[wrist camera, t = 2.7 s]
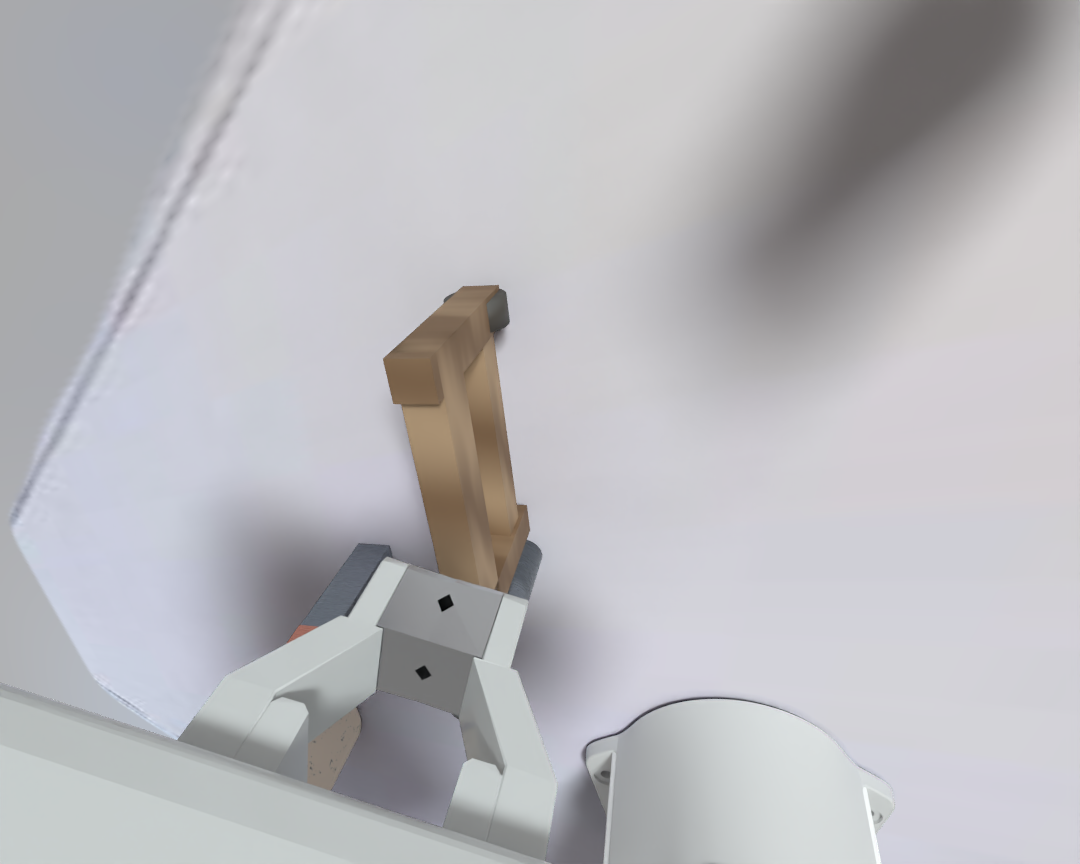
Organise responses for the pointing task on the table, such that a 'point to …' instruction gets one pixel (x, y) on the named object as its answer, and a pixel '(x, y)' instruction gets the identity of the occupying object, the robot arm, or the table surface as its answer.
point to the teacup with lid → (332, 750)
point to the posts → (363, 567)
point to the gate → (462, 436)
